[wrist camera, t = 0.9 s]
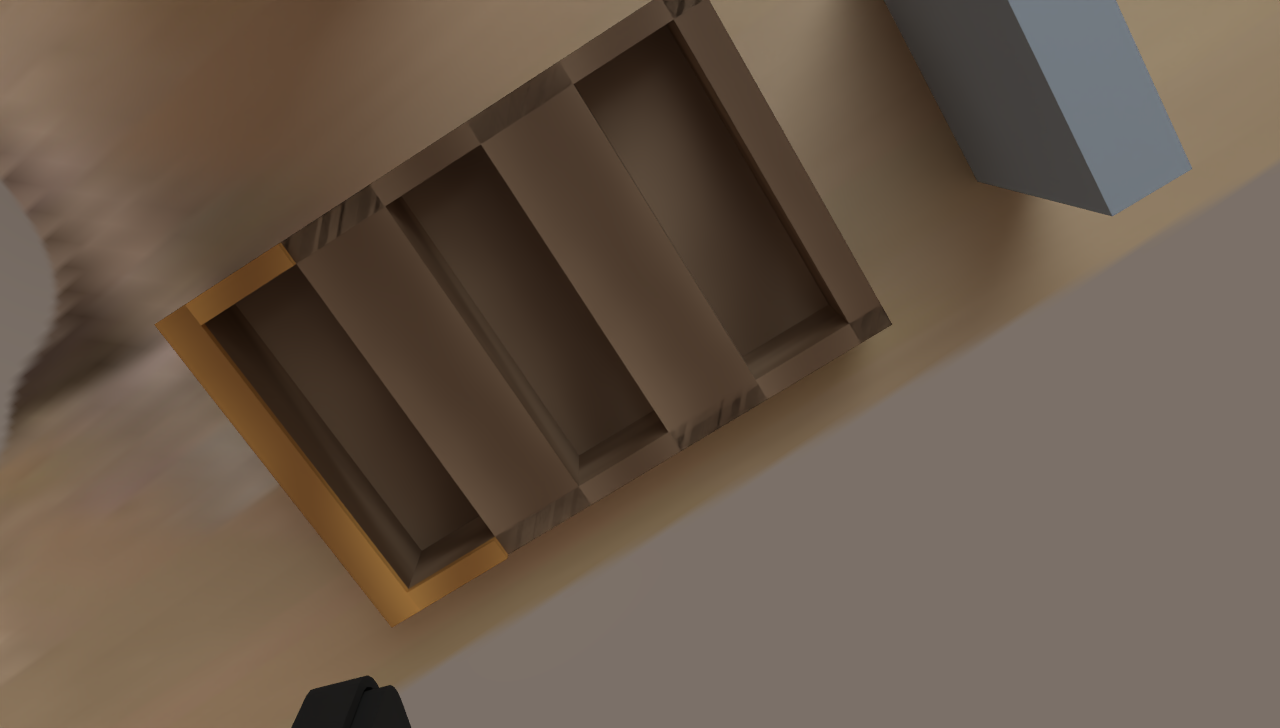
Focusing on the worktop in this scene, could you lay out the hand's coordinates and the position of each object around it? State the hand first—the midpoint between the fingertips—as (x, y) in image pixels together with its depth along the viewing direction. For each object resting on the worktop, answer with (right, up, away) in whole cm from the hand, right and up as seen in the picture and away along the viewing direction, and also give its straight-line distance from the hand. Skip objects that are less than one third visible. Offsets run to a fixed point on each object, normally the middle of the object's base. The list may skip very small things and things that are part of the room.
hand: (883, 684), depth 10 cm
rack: (-6, +6, +28) cm, 29 cm away
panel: (+8, +14, +26) cm, 31 cm away
